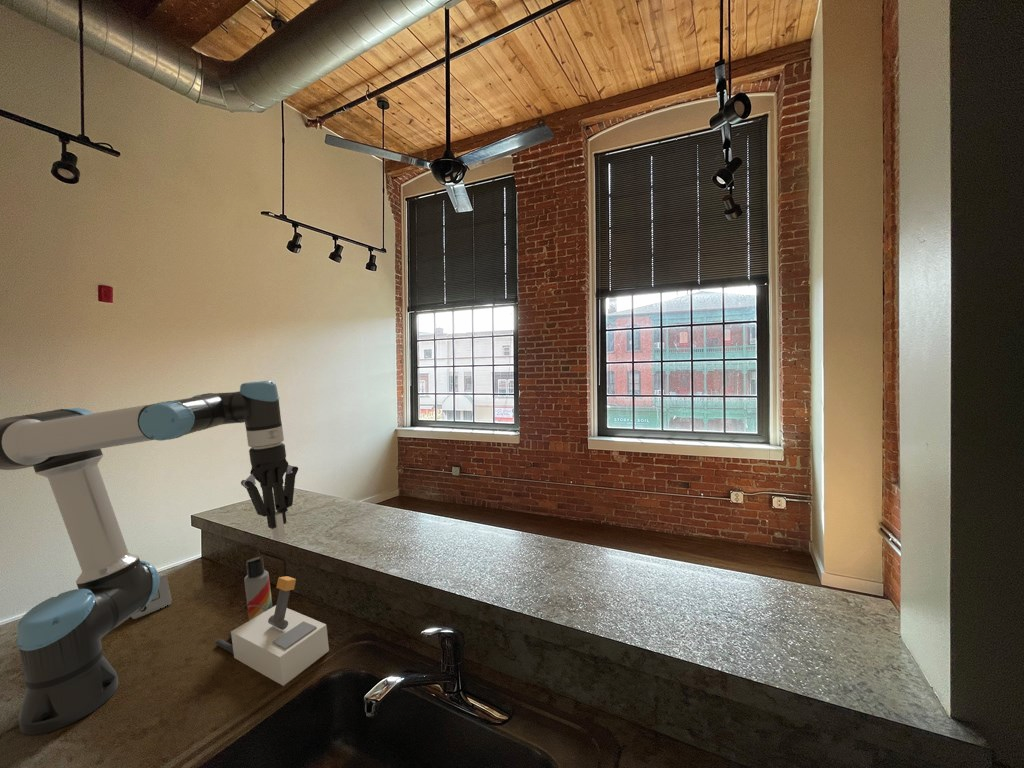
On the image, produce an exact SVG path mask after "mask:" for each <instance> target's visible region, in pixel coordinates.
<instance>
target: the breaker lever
mask: <svg viewBox="0 0 1024 768" xmlns="http://www.w3.org/2000/svg"><path fill="white" fill-rule="evenodd" d="M296 581H297V579H296V578H294V577H291V576H286V575H285V576H281V577H280V576H279V577H278V579H277V584H276V587H275V588H276V589H278V595H277V600H276V604H275V605H276V608H275V613H274V615H272V616H271V617H270V618H269V620H268V623H269V624H271V625H273V626H275V627H277V628H279V629H281V630H284V629H285V628H286V627H287V626H288V621H286V620H284V618H285V613H286V609H287V608H288V602H289V599H290V594H291V591H292V590H295V586H296Z"/></svg>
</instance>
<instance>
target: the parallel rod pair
mask: <svg viewBox="0 0 1024 768" xmlns="http://www.w3.org/2000/svg"><path fill="white" fill-rule="evenodd" d="M227 637H228V638H230V639H231V640H232V636H231V631H230V632H229V633H228V636H227ZM215 644H216V645H217V646H218V647H220V648H222V649H223V650H225V651H227V652H228V653H231V654H232V655H234V652H233V644H232V643H229V642H227V641H225V640H224V639H222V638H218V639H217V640H216V642H215Z"/></svg>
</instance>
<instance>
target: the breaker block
mask: <svg viewBox="0 0 1024 768" xmlns="http://www.w3.org/2000/svg"><path fill="white" fill-rule="evenodd" d="M275 608H276V604H275V605H274V606H272V608H270V609H269V610H267V611H265V612H263V613H262V614H260V615H258V616H257V617H255V618H253V619H251V620H250V621H249V620H248V621H247V622H245V623H242V624H241V625H240V626H238V627H236V628H235V629H233V630H231V631H230V632H231V636H232V639H231V642H232V643H231V645H233V652H234V654H233V658H234V659H236V660H237V661H239V662H241V663H243V664H244V665H246V666H248V667H249V668H251V669H253V670H254V671H256V672H258V673H260V674H261V675H263V676H265V677H267V678H269V679H270V680H272V681H274V682H276V683H277V684H278V685H281V686H282V687H284V686H286V684H288V683H289V682H290V681H292V680H294V678H296V677H297V676H299V674H301V673H303V672H304V671H305V670H306V669H308V668H309V667H310V666H311V665H312V664H314V663H315V662H316V661H318V660H320V658H322V657H323V656H324V655H326V654H327V653H328V652H329V651H330V647H329V639H328V638H329V637H328V636H329V635H328V627H327V624H326V623H324V622H321V621H319V620H316V619H314V618H312V617H309V616H308V615H304V614H302V613H300V612H297V611H296V610H293V609H290V608H288V607H287V609H286V613H285V618H284V620H286V621H288V626H287V627H286V628H285V629H284V630H281V629H279V628H277V627H275V626H273V625H271V624H269V623H268V620H269V618H270V617H271V616H272V615H274V613H275Z"/></svg>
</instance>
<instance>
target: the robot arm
mask: <svg viewBox="0 0 1024 768" xmlns="http://www.w3.org/2000/svg"><path fill="white" fill-rule="evenodd" d="M277 387H278V386H277V384H276V383H275V382H274V381H273V380H259V381H249V382H244V383H243V382H242V383H241V384H240V386H239V390H238V391H231V392H229V391H228V392H217V393H216V392H215V393H212V392H210V393H209V392H207V393H203V394H196V395H193V396H192V397H189V398H182V399H175V400H168V401H161V402H156V403H151V404H145V405H137V406H133V407H132V406H131V407H124V408H119V409H113V410H106V411H100V412H93V411H90V410H89V409H86V408H79V407H78V408H76V407H75V408H74V407H73V408H72V407H71V408H59V409H54V410H48V411H47V410H46V411H42V412H41V411H40V412H36V413H35V412H34V413H30V414H25V415H24V414H23V415H14V416H9V417H5V418H0V470H1V471H14V470H15V471H16V470H21V469H27V468H31V467H32V468H33V470H34V472H35V474H36V475H39V476H42V477H44V478H47V479H48V483H49V485H50V488H51V491H52V494H53V496H54V498H55V501H56V504H57V507H58V509H59V512H60V515H61V517H62V520H63V523H64V525H65V528H66V531H67V534H68V537H69V539H70V543H71V545H72V548H73V550H74V551H73V552H74V553H75V555H76V559H77V561H78V564H79V568H80V569H81V570H80V571H81V572H80V574H79V576H78V577H77V579H76V580H75V583H76V586H77V588H76V589H71V590H67V591H64V592H61V593H59V594H58V595H57V596H52V597H49V598H47V599H45V600H44V601H41V602H40V603H38V604H36V605H35V606H33V607H32V608H31V609H29V610H28V611H27V612H25V614H23V616H22V617H21V618H20V620H19V621H18V623H17V625H16V634H17V638H16V646H17V647H18V650H19V654H20V660H21V666H22V671H23V676H24V682H25V688H26V689H25V693H24V696H23V700H22V703H21V706H20V711H19V714H18V725H19V731H20V732H21V733H22V734H23V735H28V736H34V735H42V734H47V733H50V732H54V731H57V730H60V729H62V728H64V727H66V726H69V725H71V724H73V723H75V722H77V721H79V720H81V719H83V718H85V717H86V716H88V715H89V714H91V713H93V712H94V711H95V710H97V709H99V708H100V707H101V706H102V705H104V704H105V703H106V702H107V701H108V700H110V698H111V697H112V696H113V695H114V694H115V693H116V691H117V689H118V687H119V677H118V673H117V671H116V669H114V667H113V665H111V663H110V662H109V661H108V660H107V658H106V657H105V656H104V654H103V648H102V647H103V646H102V638H103V637H105V636H106V635H107V634H109V633H110V632H111V631H113V630H115V628H117V627H118V626H120V625H121V624H122V623H124V622H125V621H127V620H128V619H129V618H132V617H131V616H132V615H134V614H136V613H137V612H139V611H140V610H142V611H143V610H144V607H145V605H147V604H148V603H149V602H150V601H151V600H152V599H153V598H154V597H155V595H156V593H157V591H158V589H159V583H160V580H159V576H160V574H159V572H158V570H157V568H156V567H155V566H154V565H151V563H150V562H148V561H146V560H141V559H140V557H139V555H137V554H133V553H130V552H129V551H128V548H127V545H126V543H125V539H124V535H123V533H122V531H121V527H120V525H119V522H118V519H117V517H116V513H115V510H114V507H113V506H112V505H113V504H112V502H111V499H110V496H109V493H108V491H107V488H106V485H105V483H104V482H105V481H104V479H103V477H102V474H101V471H100V468H99V466H98V465H99V462H100V461H101V460H102V459H103V457H104V454H103V452H102V449H107V448H112V447H118V446H124V445H132V444H136V443H143V442H144V443H145V442H149V441H166V440H167V441H169V440H174V439H179V438H181V437H183V436H186V435H189V434H193V433H196V432H200V431H204V430H207V429H208V430H209V429H210V428H215V427H218V426H221V425H223V426H224V425H230V424H239V423H240V424H242V423H244V426H245V431H246V438H247V439H246V440H247V446H248V447H250V449H248V453H249V461H250V464H251V465H250V466H251V470H250V475H249V476H248V477H247V478H246V479H242V480H241V481H240V484H241V486H243V487H244V488H245V489H246V491H247V493H248V496H249V498H250V500H251V502H252V505H253V507H254V509H255V512H256V514H257V515H259V516H261V517H266V521H267V527H268V528H269V529H271V531H272V538H273V540H275V541H278V542H281V541H283V540H285V539H286V533H285V524H287V512H288V508H291V507H292V506H293V505H294V503H293V502H294V493H295V483H296V476H297V473H298V471H299V467H298V466H294V465H290V464H289V462H288V461H287V458H286V457H287V451H286V445H285V443H283V442H284V440H285V437H284V431H283V424H282V417H281V416H282V415H281V408H280V397H279V394H278V388H277ZM284 476H285V477H284ZM256 481H257V482H258V483H259V485H260V488H261V491H262V492H261V493H262V495H261V493H260V492H259V491H260V490H259V489H258V487H257V486H256V485H257V484H256V483H257V482H256Z"/></svg>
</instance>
